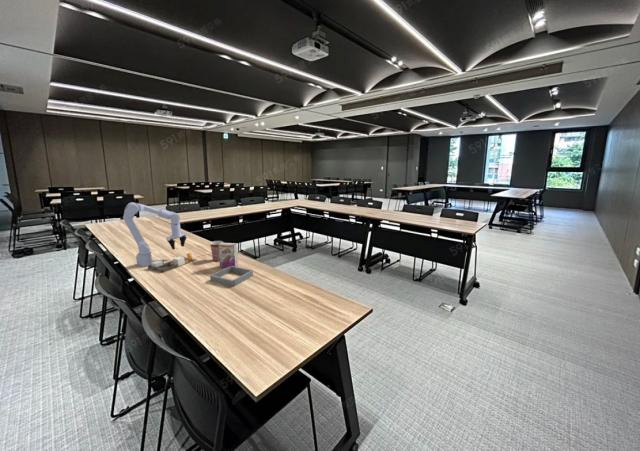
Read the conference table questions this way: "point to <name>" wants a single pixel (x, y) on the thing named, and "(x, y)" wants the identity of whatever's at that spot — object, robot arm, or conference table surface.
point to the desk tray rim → (218, 279)
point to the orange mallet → (182, 259)
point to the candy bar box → (228, 254)
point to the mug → (215, 250)
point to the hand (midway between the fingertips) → (178, 247)
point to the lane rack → (168, 266)
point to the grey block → (156, 263)
